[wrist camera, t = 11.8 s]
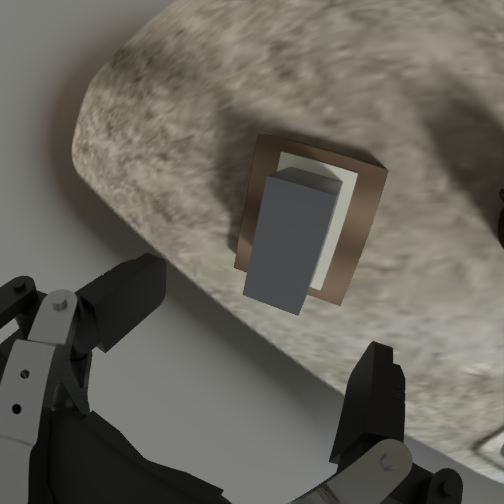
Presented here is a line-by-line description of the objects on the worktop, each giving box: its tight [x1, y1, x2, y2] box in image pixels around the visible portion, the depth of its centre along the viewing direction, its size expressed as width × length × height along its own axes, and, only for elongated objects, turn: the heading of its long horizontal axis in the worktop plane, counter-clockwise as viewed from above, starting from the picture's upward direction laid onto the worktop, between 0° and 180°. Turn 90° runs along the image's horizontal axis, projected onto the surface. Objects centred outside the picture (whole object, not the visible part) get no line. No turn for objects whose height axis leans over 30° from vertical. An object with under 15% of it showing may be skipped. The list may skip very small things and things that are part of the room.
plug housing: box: [243, 167, 343, 315], centre depth 21 cm, size 9×4×6 cm, turn 169°
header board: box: [234, 134, 388, 306], centre depth 23 cm, size 13×11×6 cm
